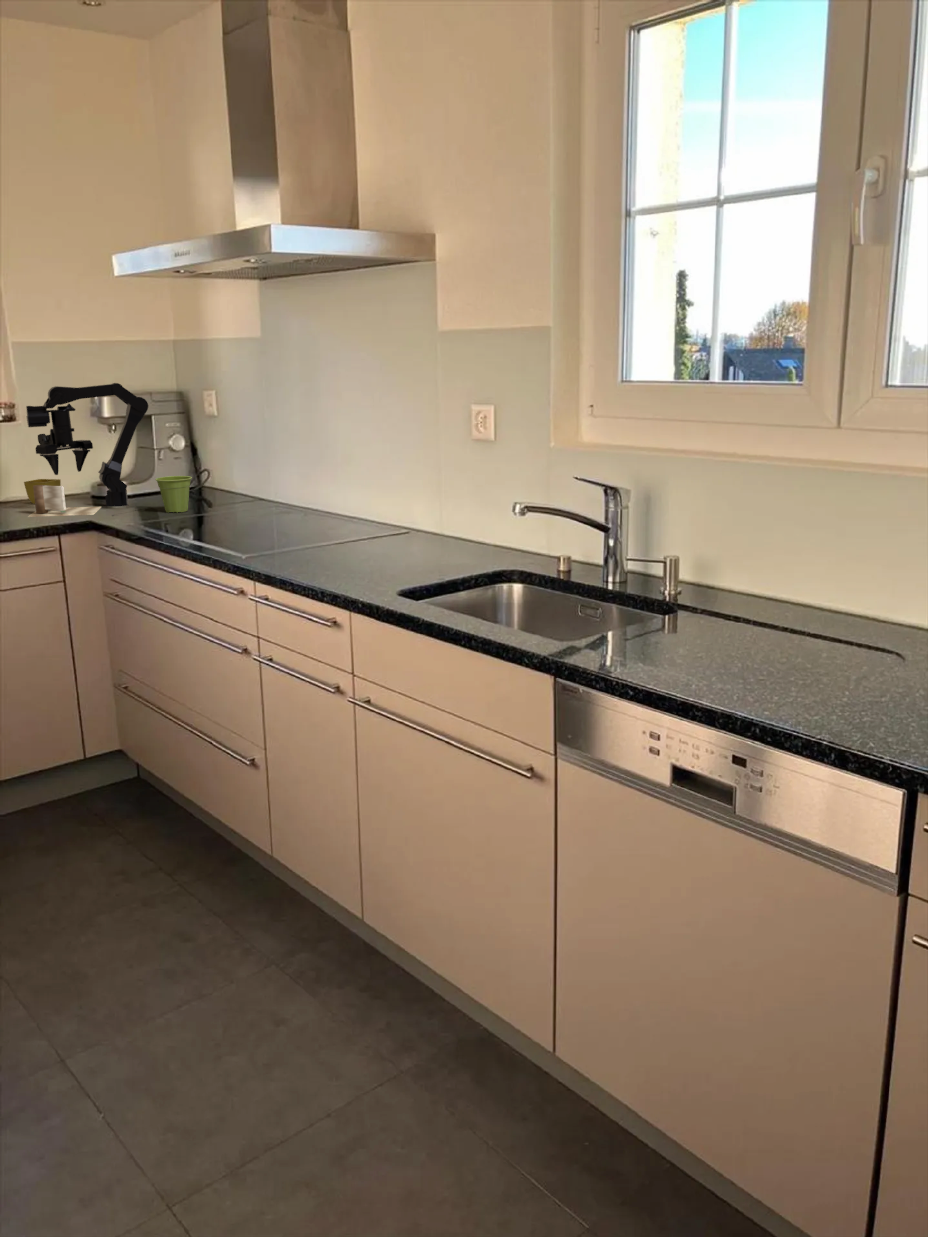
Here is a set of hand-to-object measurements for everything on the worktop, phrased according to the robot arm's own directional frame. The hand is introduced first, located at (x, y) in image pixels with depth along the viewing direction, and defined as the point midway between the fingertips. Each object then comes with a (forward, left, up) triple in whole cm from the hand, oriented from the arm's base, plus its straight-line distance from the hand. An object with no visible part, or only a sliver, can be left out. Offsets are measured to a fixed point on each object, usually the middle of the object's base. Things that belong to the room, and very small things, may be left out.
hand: (68, 473), depth 337 cm
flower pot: (+12, -16, -13) cm, 24 cm away
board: (+1, +7, -13) cm, 15 cm away
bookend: (+3, +9, -11) cm, 15 cm away
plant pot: (-34, +7, -13) cm, 37 cm away
